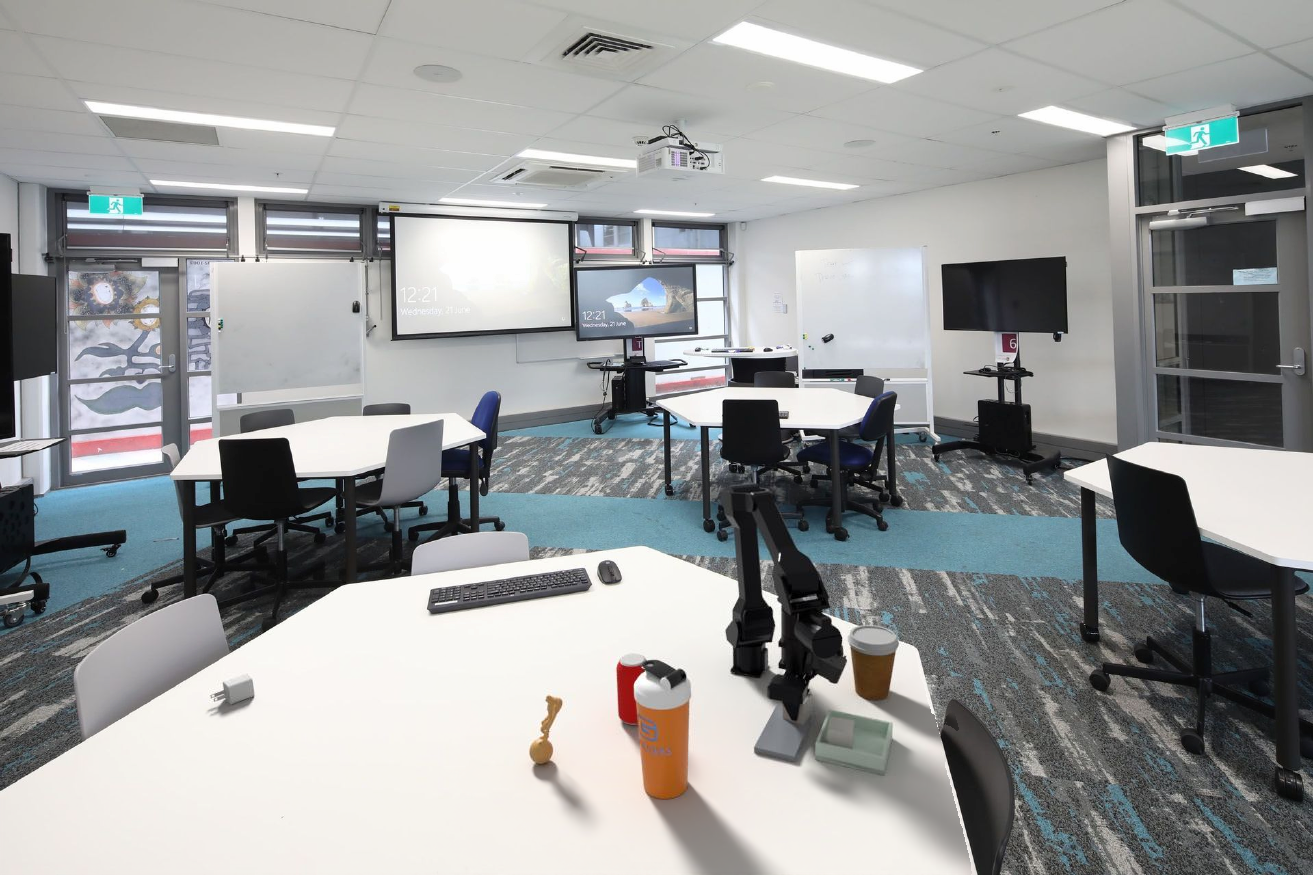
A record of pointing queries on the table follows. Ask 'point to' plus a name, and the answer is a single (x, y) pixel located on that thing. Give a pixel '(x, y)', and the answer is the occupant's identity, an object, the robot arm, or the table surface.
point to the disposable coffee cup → (872, 660)
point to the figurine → (545, 733)
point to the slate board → (782, 736)
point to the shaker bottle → (663, 728)
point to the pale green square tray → (857, 744)
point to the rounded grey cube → (841, 732)
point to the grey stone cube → (801, 711)
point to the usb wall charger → (236, 689)
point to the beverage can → (628, 686)
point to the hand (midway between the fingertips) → (797, 713)
